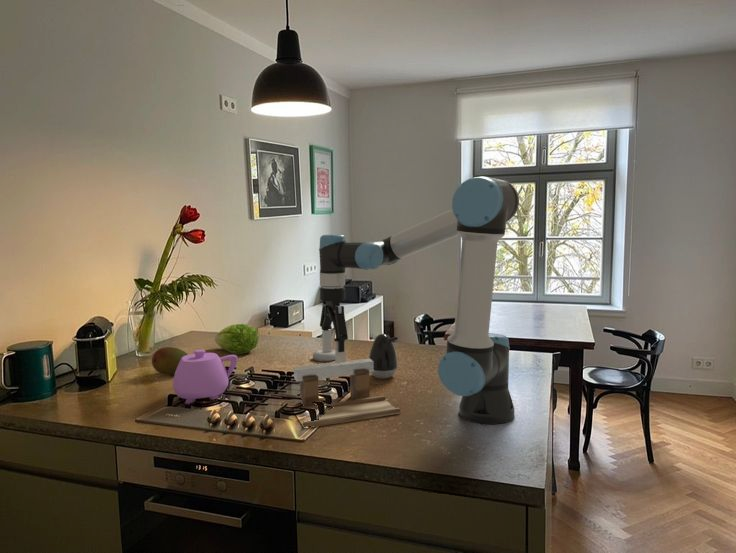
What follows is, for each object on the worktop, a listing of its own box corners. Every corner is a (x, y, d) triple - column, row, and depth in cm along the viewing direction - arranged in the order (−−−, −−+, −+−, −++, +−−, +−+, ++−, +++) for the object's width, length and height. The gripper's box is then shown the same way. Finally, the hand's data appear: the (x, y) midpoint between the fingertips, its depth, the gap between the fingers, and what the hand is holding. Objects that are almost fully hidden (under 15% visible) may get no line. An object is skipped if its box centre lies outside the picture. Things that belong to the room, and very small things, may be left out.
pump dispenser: (396, 381, 178) (395, 337, 176) (365, 380, 180) (365, 336, 178) (400, 373, 188) (399, 331, 186) (371, 371, 190) (371, 330, 188)
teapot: (234, 381, 180) (232, 338, 179) (242, 400, 162) (240, 352, 160) (173, 389, 173) (170, 344, 171) (174, 409, 155) (171, 359, 153)
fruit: (148, 374, 190) (146, 347, 189) (181, 366, 199) (180, 341, 198) (162, 380, 182) (160, 352, 181) (196, 372, 191) (194, 346, 190)
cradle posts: (369, 399, 160) (369, 370, 159) (305, 409, 153) (304, 378, 152) (362, 393, 166) (361, 365, 165) (300, 402, 159) (299, 372, 158)
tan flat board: (400, 413, 149) (400, 408, 149) (303, 428, 139) (303, 423, 139) (383, 399, 160) (383, 395, 160) (293, 413, 150) (293, 408, 150)
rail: (373, 372, 161) (373, 361, 161) (297, 381, 153) (296, 370, 153) (369, 369, 165) (369, 358, 164) (294, 378, 156) (293, 367, 156)
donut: (333, 355, 215) (310, 357, 211) (333, 347, 214) (310, 348, 211) (341, 361, 205) (316, 363, 202) (341, 352, 205) (316, 354, 201)
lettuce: (232, 331, 235) (209, 319, 225) (267, 330, 222) (244, 318, 213) (223, 358, 230) (199, 347, 220) (258, 359, 217) (234, 348, 207)
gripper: (358, 291, 146) (359, 366, 148) (332, 281, 169) (333, 345, 171) (333, 293, 143) (333, 369, 145) (309, 282, 166) (310, 347, 169)
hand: (333, 356), depth 158 cm, fingers open, 13 cm apart
